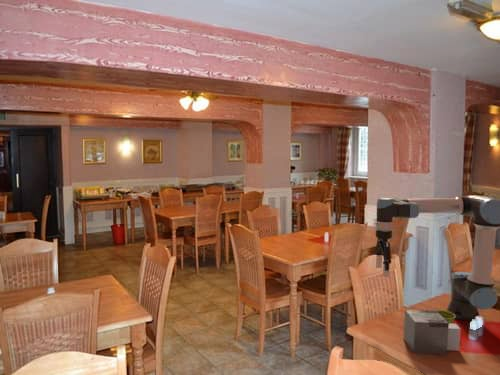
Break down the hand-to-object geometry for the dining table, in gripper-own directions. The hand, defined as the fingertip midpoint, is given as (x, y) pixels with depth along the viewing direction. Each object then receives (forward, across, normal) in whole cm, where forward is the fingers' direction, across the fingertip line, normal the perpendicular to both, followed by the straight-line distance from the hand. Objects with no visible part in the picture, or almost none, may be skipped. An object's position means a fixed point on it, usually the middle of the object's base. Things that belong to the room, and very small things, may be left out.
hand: (382, 272), depth 199 cm
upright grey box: (+27, +21, +23) cm, 41 cm away
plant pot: (+27, +5, +29) cm, 40 cm away
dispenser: (+27, +21, +14) cm, 37 cm away
